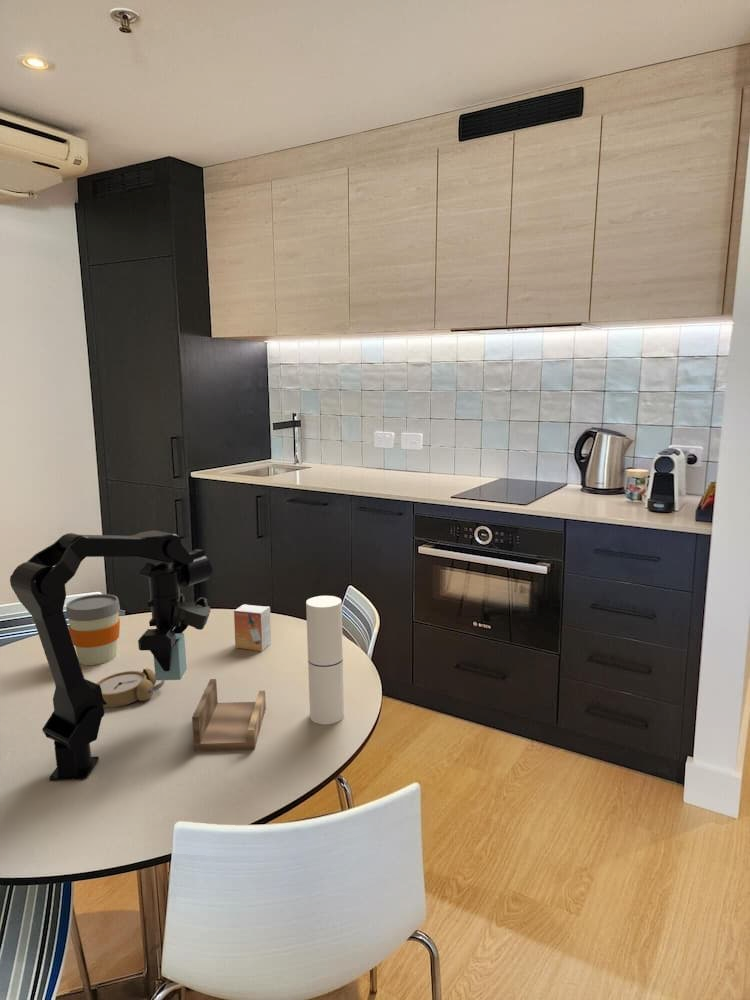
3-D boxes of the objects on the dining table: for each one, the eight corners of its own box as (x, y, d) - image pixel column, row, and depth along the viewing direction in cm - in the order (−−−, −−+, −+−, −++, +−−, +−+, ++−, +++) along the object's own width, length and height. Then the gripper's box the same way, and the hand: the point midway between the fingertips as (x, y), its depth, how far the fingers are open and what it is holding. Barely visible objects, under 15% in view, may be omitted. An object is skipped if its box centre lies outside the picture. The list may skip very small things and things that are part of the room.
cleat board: (254, 749, 123) (253, 715, 122) (194, 751, 123) (192, 717, 122) (265, 707, 139) (264, 677, 138) (212, 709, 139) (210, 678, 138)
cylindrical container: (313, 726, 131) (309, 608, 127) (307, 709, 138) (303, 597, 134) (347, 721, 133) (345, 605, 129) (340, 705, 140) (337, 594, 136)
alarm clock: (97, 676, 150) (163, 659, 152) (103, 695, 151) (169, 678, 153) (86, 698, 139) (157, 680, 141) (93, 719, 140) (163, 700, 142)
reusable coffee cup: (130, 647, 173) (126, 593, 170) (113, 667, 160) (108, 609, 158) (83, 648, 172) (77, 594, 170) (62, 668, 160) (56, 610, 157)
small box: (234, 648, 171) (232, 610, 169) (245, 640, 176) (243, 603, 174) (262, 651, 169) (260, 613, 167) (272, 643, 174) (270, 606, 172)
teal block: (180, 679, 132) (177, 642, 130) (155, 680, 131) (152, 643, 130) (186, 669, 137) (184, 633, 135) (162, 669, 136) (159, 633, 135)
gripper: (194, 607, 122) (199, 685, 125) (214, 578, 140) (219, 646, 143) (134, 609, 122) (140, 686, 124) (162, 579, 140) (168, 647, 143)
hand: (170, 665), depth 134 cm, fingers closed on teal block, 5 cm apart
